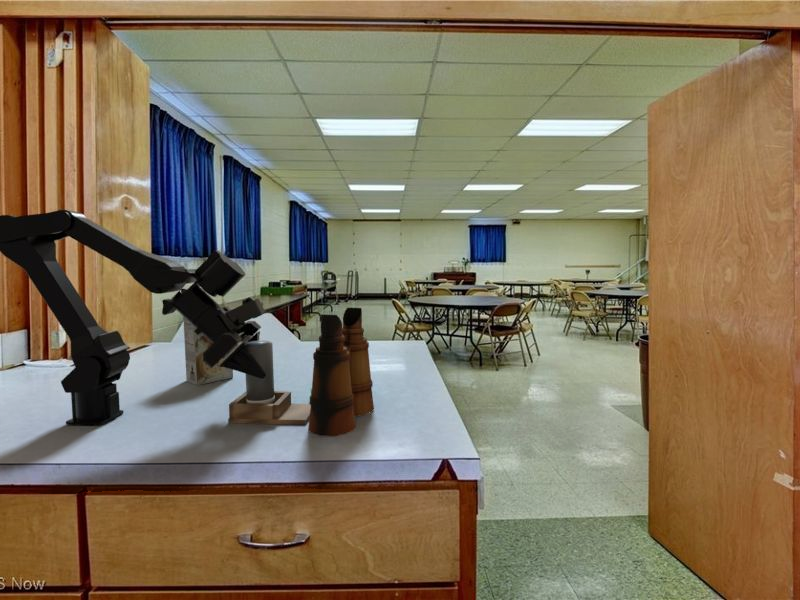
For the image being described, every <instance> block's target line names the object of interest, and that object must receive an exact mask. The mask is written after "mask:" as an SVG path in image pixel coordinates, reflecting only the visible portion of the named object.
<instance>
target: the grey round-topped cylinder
mask: <svg viewBox="0 0 800 600" xmlns="http://www.w3.org/2000/svg"><path fill="white" fill-rule="evenodd" d="M273 350H274V348H273V342H271V341H269V340H259V341H252V342H248V351H249V353H250V354H251V355H252V356H253V357H254V359H255V360H256V361H257V362H258V364H259V365H260V366H261V367H262V369H263V370H264V371H265V373H266V376H265V377H264V378H263V379H261V378H258V377H255V376H252V375H248V374H245V388H246V389H245V390H246V391H245V392H246V395H247V398H246V401H247V404H274V403H275V395H274V391H275V379H274V377H275V376H274V375H275V374H274V371H275V370H274V352H273Z"/></svg>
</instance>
